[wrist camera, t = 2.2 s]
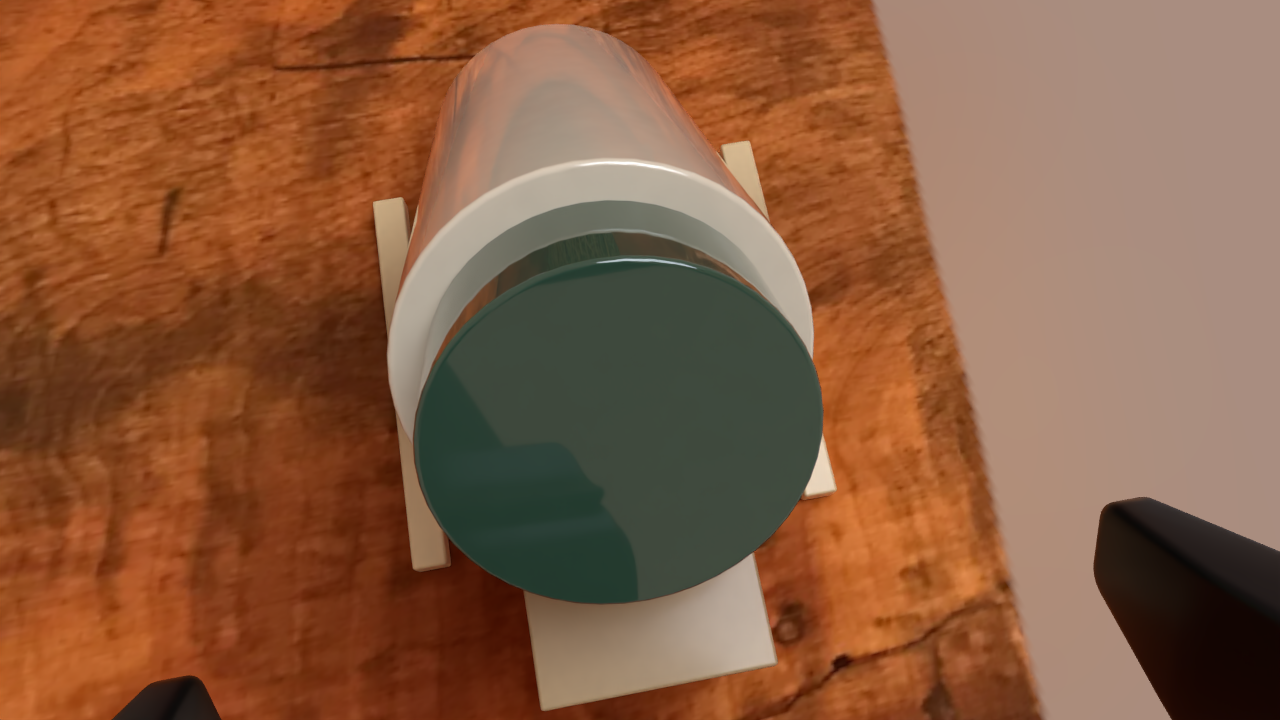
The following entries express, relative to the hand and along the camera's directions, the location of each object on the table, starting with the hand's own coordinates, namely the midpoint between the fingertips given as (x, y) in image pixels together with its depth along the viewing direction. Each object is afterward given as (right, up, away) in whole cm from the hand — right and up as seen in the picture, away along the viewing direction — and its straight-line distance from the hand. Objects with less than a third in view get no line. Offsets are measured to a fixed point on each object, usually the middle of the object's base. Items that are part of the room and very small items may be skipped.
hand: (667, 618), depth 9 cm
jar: (-1, +3, +14) cm, 14 cm away
